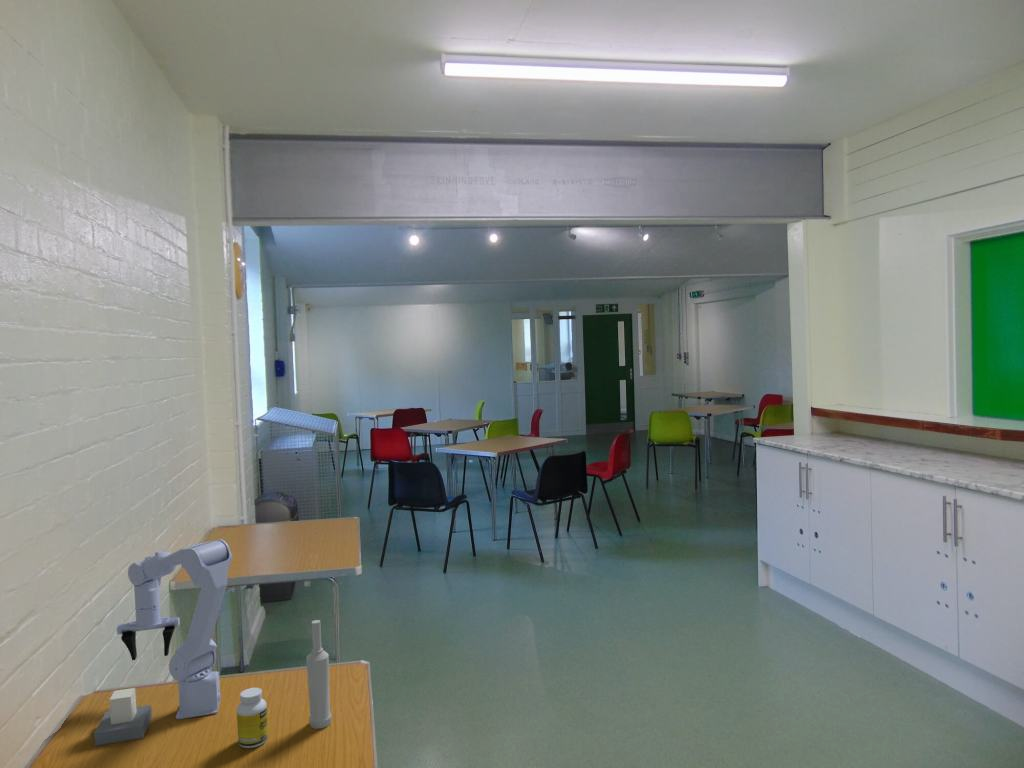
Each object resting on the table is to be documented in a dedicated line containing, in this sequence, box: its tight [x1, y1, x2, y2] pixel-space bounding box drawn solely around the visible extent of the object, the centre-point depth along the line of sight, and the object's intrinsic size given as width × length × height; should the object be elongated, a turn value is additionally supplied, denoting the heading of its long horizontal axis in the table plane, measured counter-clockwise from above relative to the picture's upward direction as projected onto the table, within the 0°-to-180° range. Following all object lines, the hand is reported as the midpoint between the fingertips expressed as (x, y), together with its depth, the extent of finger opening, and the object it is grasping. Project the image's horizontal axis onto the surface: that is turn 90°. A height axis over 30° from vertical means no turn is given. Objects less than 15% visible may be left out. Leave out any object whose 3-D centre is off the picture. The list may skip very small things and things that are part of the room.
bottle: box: [305, 619, 332, 730], centre depth 170 cm, size 5×5×25 cm
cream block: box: [108, 687, 137, 725], centre depth 170 cm, size 4×4×6 cm
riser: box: [93, 704, 153, 747], centre depth 170 cm, size 10×10×3 cm
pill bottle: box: [236, 687, 269, 749], centre depth 163 cm, size 6×6×12 cm
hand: (150, 656), depth 186 cm, fingers open, 7 cm apart
